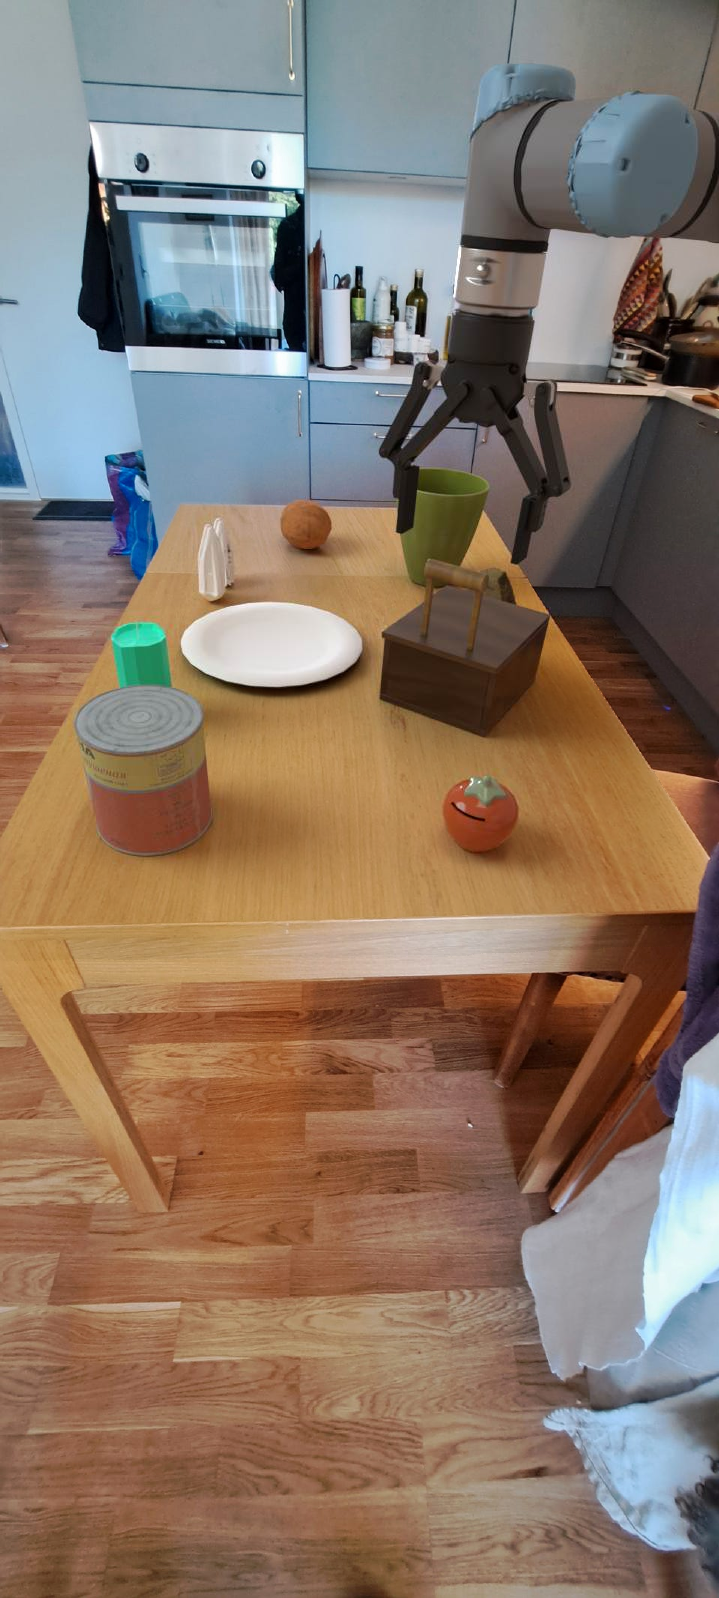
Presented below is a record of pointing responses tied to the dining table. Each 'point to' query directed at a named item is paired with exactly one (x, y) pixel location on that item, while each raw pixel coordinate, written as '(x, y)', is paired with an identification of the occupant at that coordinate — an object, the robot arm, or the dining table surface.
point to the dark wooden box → (457, 685)
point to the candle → (141, 655)
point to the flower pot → (443, 519)
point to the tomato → (480, 813)
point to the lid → (465, 621)
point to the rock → (498, 586)
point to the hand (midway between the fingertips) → (459, 545)
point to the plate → (271, 645)
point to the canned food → (146, 768)
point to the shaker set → (215, 561)
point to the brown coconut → (305, 524)
